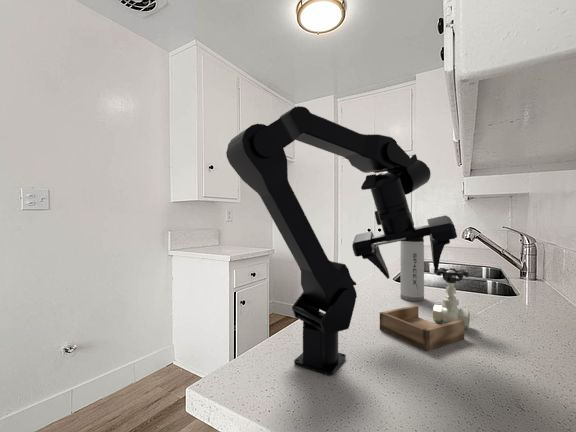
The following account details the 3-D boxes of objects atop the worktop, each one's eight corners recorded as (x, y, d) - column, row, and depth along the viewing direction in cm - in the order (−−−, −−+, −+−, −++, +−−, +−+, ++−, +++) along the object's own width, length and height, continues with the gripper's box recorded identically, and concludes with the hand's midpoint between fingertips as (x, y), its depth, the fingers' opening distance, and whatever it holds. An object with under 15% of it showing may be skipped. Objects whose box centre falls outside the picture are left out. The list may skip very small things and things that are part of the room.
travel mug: (405, 294, 87) (405, 228, 87) (427, 298, 82) (427, 229, 82) (395, 298, 83) (395, 229, 83) (418, 303, 78) (418, 230, 78)
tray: (426, 351, 50) (426, 331, 50) (379, 329, 60) (379, 312, 60) (464, 338, 55) (464, 320, 55) (415, 320, 65) (415, 305, 65)
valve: (467, 334, 57) (467, 274, 57) (431, 326, 61) (431, 270, 61) (470, 324, 62) (470, 269, 62) (436, 318, 66) (436, 266, 66)
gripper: (437, 181, 58) (455, 248, 61) (349, 204, 66) (369, 263, 69) (447, 194, 48) (466, 274, 52) (342, 220, 56) (365, 288, 59)
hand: (411, 274), depth 58 cm, fingers open, 9 cm apart
